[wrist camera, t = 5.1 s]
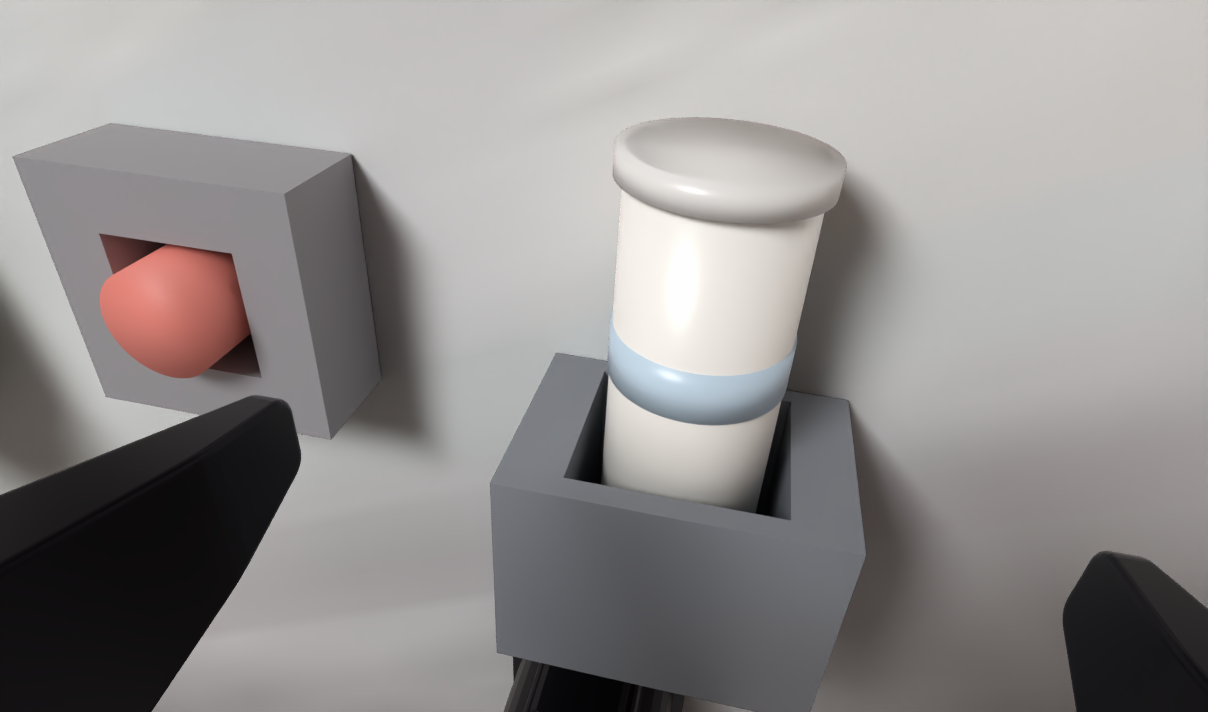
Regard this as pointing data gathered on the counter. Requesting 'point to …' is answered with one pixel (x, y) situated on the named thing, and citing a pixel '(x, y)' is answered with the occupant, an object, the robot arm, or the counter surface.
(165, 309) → the button
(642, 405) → the cartridge
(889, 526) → the counter surface
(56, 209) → the button collar
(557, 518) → the housing
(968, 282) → the counter surface
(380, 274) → the counter surface
